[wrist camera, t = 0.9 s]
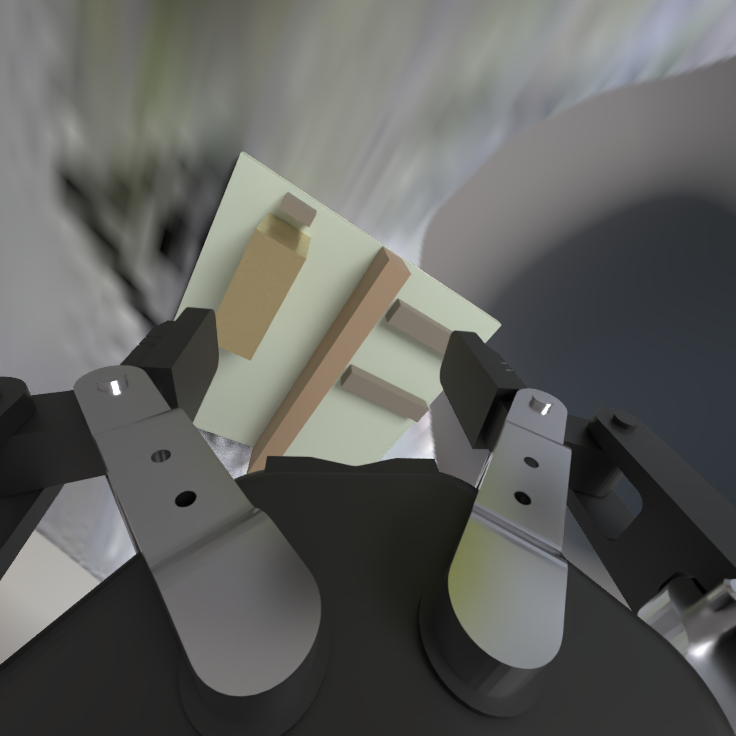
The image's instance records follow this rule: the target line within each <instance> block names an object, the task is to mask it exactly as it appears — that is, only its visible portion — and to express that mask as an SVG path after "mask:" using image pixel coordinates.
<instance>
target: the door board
mask: <svg viewBox="0 0 736 736" xmlns="http://www.w3.org/2000/svg"><path fill="white" fill-rule="evenodd" d="M269 212H270V213H272V214H273V215H275V216H277V217H278V218H280V219H282V220H283V221H285V222H286V223H288V224H290V225H291V226H293V227H295V228H296V229H298V230H299V231H301V232H303V233H304V234H306V235H307V236H309V237H311V239H310V244H309V249H308V254H307V259H306V261H305V262H304V264H303V266H302V268H301V270H300V272H299V273H298V275H297V277H296V279H295V281H294V282H293V284H292V286H291V288H290V290H289V292H288V293H287V295H286V297H285V299H284V301H283V303H282V304H281V306H280V308H279V310H278V312H277V313H276V315H275V317H274V319H273V321H272V323H271V324H270V326H269V328H268V330H267V332H266V334H265V335H264V337H263V339H262V341H261V343H260V345H259V346H258V348H257V350H256V352H255V354H254V355H253V357H252V359H251V361H250V360H248V359H245V358H243V357H241V356H239V355H236V354H234V353H232V352H229V351H227V350H225V349H223V348H220V347H218V348H219V363H218V368H217V371H216V374H215V376H214V378H213V380H212V382H211V384H210V387H209V389H208V391H207V393H206V395H205V397H204V400H203V402H202V404H201V406H200V408H199V410H198V413H197V415H196V417H195V419H194V421H193V424H194V426H195V427H196V428H199V429H202V430H205V431H208V432H211V433H213V434H216V435H219V436H222V437H225V438H228V439H231V440H233V441H236V442H239V443H242V444H245V445H248V446H250V447H253V450H252V454H251V458H250V462H249V466H248V470H247V474H248V473H252V472H255V471H259V470H264V469H265V464H266V459H267V456H303V457H315V458H319V459H324V460H328V461H333V462H337V463H342V464H347V465H352V466H359V465H364V464H369V463H374V462H378V461H379V460H380V459H381V458H382V457H383V456H384V455H385V454H386V453H387V451H388V450H389V449H390V448H391V447H392V446H393V445H394V444H395V443H396V441H397V440H398V439H399V438H400V437H401V436H402V435H403V434H404V433H405V431H406V430H407V429H408V428H409V427H410V426H411V425H412V424H413V423H414V421H416V422H418V421H419V420H420V419H421V418H422V417H423V415H424V414H425V413H426V412H427V411H428V410H429V409H428V406H429V405H430V404H431V403H432V401H433V400H434V399H435V398H436V397H437V396H438V395H439V394H440V393H441V392H442V390H443V388H442V386H441V383H440V368H441V364H442V361H443V358H444V354H445V351H446V348H447V344H448V341H449V338H450V335H451V333H452V332H453V331H455V330H457V331H469V332H476V333H477V334H478V336H479V337H480V338H481V339H482V341H483V342H484V343H486V341H487V340H488V339H489V338H490V337H491V336H492V335H493V334H494V333H495V331H496V330H497V329H498V328H499V327H500V326H501V324H500V323H499V322H498V321H497V320H496V319H494V318H493V317H491V316H490V315H488V314H487V313H485V312H484V311H482V310H481V309H479V308H478V307H476V306H475V305H473V304H472V303H470V302H469V301H467V300H466V299H464V298H463V297H461V296H460V295H458V294H457V293H455V292H454V291H452V290H451V289H449V288H448V287H446V286H445V285H443V284H442V283H440V282H439V281H437V280H436V279H434V278H433V277H431V276H430V275H428V274H427V273H425V272H424V271H422V270H421V269H419V268H418V267H416V266H415V265H413V264H412V263H410V262H409V261H407V260H406V259H404V258H403V257H401V256H400V255H398V254H397V253H395V252H394V251H392V250H391V249H389V248H388V247H386V246H385V245H383V244H382V243H380V242H379V241H377V240H376V239H374V238H373V237H371V236H370V235H368V234H367V233H365V232H364V231H362V230H361V229H359V228H358V227H356V226H355V225H353V224H352V223H350V222H349V221H347V220H346V219H344V218H343V217H341V216H340V215H338V214H337V213H335V212H334V211H332V210H331V209H329V208H328V207H326V206H325V205H323V204H322V203H320V202H319V201H317V200H316V199H314V198H313V197H311V196H310V195H308V194H307V193H305V192H304V191H302V190H301V189H299V188H298V187H296V186H295V185H293V184H292V183H290V182H289V181H287V180H286V179H284V178H283V177H281V176H280V175H278V174H277V173H275V172H274V171H272V170H271V169H269V168H268V167H266V166H265V165H263V164H262V163H260V162H259V161H257V160H256V159H254V158H253V157H251V156H250V155H248V154H247V153H245V152H241V154H240V156H239V159H238V161H237V164H236V166H235V169H234V171H233V174H232V176H231V179H230V181H229V184H228V186H227V189H226V191H225V194H224V196H223V199H222V201H221V204H220V206H219V209H218V211H217V214H216V216H215V219H214V221H213V224H212V226H211V229H210V231H209V234H208V236H207V239H206V241H205V244H204V246H203V249H202V251H201V254H200V256H199V259H198V262H197V264H196V267H195V269H194V272H193V274H192V277H191V279H190V282H189V284H188V287H187V289H186V292H185V294H184V297H183V299H182V302H181V304H180V307H179V309H178V312H177V314H176V317H175V319H174V321H175V320H176V319H177V318H178V317H179V316H180V314H181V313H182V312H183V311H184V309H185V308H186V307H195V308H207V309H213V310H214V312H215V315H216V313H217V311H218V309H219V307H220V305H221V302H222V300H223V298H224V296H225V294H226V291H227V289H228V287H229V285H230V283H231V281H232V278H233V276H234V274H235V272H236V270H237V267H238V265H239V263H240V261H241V259H242V257H243V254H244V252H245V250H246V248H247V246H248V243H249V241H250V239H251V237H252V235H253V233H254V230H255V228H256V227H257V226H258V225H259V224H260V223H261V221H262V220H263V219H264V218H265V217H266V216H267V214H268V213H269Z"/></svg>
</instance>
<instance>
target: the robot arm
mask: <svg viewBox="0 0 736 736" xmlns="http://www.w3.org/2000/svg"><path fill="white" fill-rule="evenodd" d="M218 363H219V348H218V338H217V327H216V317H215V312H214V310H213V309H207V308H195V307H186V308H185V309H184V311H183V312H182V313H181V314H180V316H179V317H178V318H177V319H176V320H175V321H166V322H164V323H162V324H160V325H158V326H156V327H154V328H153V329H152V330H151V331H150V332H149V333H148V335H147V336H146V338H144V339H143V340H142V341H141V342H140V343H139V345H138V346H137V347H136V348H135V349H134V350H133V351H132V352H131V353H130V354H129V355H128V357H127V358H126V359H125V360H124V361H123V362H122V363H121V364H120V365H117V366H109V367H104V368H100V369H97V370H94V371H91V372H89V373H87V374H85V375H84V376H82V377H81V378H79V379H78V380H77V381H76V383H75V384H74V388H73V389H74V390H71V391H64V392H55V393H47V394H39V395H31V394H30V392H29V390H28V388H27V386H26V384H25V382H24V381H22V380H20V379H17V378H12V377H0V580H1V579H2V577H3V575H4V574H5V573H6V571H7V570H8V568H9V567H10V565H11V564H12V562H13V561H14V559H15V558H16V556H17V555H18V553H19V552H20V550H21V549H22V547H23V546H24V544H25V543H26V541H27V540H28V538H29V537H30V535H31V534H32V532H33V531H34V529H35V528H36V526H37V525H38V523H39V522H40V520H41V519H42V517H43V516H44V514H45V513H46V511H47V510H48V508H49V507H50V505H51V504H52V502H53V501H54V499H55V498H56V496H57V495H58V493H59V492H60V490H61V489H62V487H63V486H64V484H65V483H70V482H74V481H79V480H84V479H88V478H93V477H98V476H102V475H105V477H106V479H107V482H108V484H109V487H110V489H111V492H112V494H113V496H114V499H115V501H116V504H117V506H118V509H119V511H120V514H121V516H122V519H123V521H124V523H125V526H126V528H127V531H128V533H129V536H130V539H131V541H132V544H133V546H134V549H135V552H136V555H134V556H133V557H132V558H131V559H130V560H128V561H127V562H126V563H125V564H123V565H122V566H121V567H120V568H119V569H117V570H116V571H115V572H114V573H112V574H111V575H110V576H109V577H107V578H106V579H105V580H104V581H103V582H101V583H100V584H99V585H98V586H96V587H95V588H94V589H93V590H91V591H90V592H89V593H88V594H87V595H85V596H84V597H83V598H82V599H80V600H79V601H78V602H77V603H76V604H74V605H73V606H72V607H71V608H69V609H68V610H67V611H66V612H64V613H63V614H62V615H61V616H59V617H58V618H57V619H56V620H55V621H53V622H52V623H51V624H50V625H48V626H47V627H46V628H45V629H44V630H42V631H41V632H40V633H39V634H37V635H36V636H35V637H34V638H32V639H31V640H30V641H29V642H28V643H26V644H25V645H24V646H23V647H21V648H20V649H19V650H18V651H17V652H15V653H14V654H13V655H12V656H10V657H9V658H8V659H7V660H5V661H4V662H3V663H2V664H0V736H736V509H735V508H734V507H733V506H732V505H731V504H730V503H729V502H728V501H727V500H726V499H725V498H723V497H722V496H721V495H720V494H719V493H718V492H717V491H716V490H715V489H714V488H713V487H711V485H709V484H708V483H707V482H706V481H705V480H704V479H703V478H702V477H701V476H700V475H699V474H698V473H697V472H695V471H694V470H693V469H692V468H691V467H690V466H689V465H688V464H687V463H686V462H685V461H683V460H682V459H681V458H680V457H679V456H678V455H677V454H676V453H675V452H674V451H673V450H672V449H671V448H670V447H669V446H667V445H666V444H665V443H664V442H663V441H662V440H661V439H660V438H659V437H658V436H657V435H656V434H655V433H653V432H652V431H651V430H650V429H649V428H648V427H647V426H646V425H645V424H644V423H642V422H641V421H640V420H638V419H637V418H635V417H633V416H631V415H630V414H627V413H625V412H623V411H620V410H617V409H613V408H605V407H604V408H599V409H597V411H596V412H595V414H594V415H593V417H592V418H591V420H587V419H583V418H579V417H575V416H571V415H567V409H566V407H565V406H564V405H563V404H562V403H561V402H560V401H559V400H558V399H556V398H555V397H553V396H551V395H550V394H547V393H545V392H542V391H539V390H536V389H528V388H527V386H526V385H525V384H524V383H523V382H522V380H521V379H520V378H519V377H518V376H517V375H516V373H515V372H514V371H512V369H511V368H510V366H509V365H508V364H506V362H505V360H504V359H503V358H502V357H501V356H500V355H499V354H498V353H497V352H495V351H494V350H492V349H491V348H489V347H488V346H487V345H486V344H485V343H484V342H483V341H482V339H481V338H480V337H479V336H478V334H477V333H476V332H469V331H457V330H455V331H453V332H452V333H451V335H450V338H449V341H448V344H447V348H446V351H445V354H444V358H443V361H442V364H441V368H440V383H441V386H442V388H443V390H444V392H445V394H446V396H447V398H448V400H449V402H450V404H451V406H452V408H453V410H454V412H455V414H456V416H457V418H458V420H459V422H460V424H461V426H462V428H463V430H464V432H465V434H466V436H467V438H468V440H469V442H470V444H471V446H472V448H473V449H489V451H490V452H489V454H488V456H487V459H486V461H485V463H484V466H483V468H482V471H481V473H480V475H479V478H478V480H477V483H476V485H475V487H473V486H472V485H470V484H469V483H467V482H465V481H463V480H461V479H459V478H456V477H454V476H451V475H448V474H445V473H442V472H439V470H438V467H437V465H436V462H435V459H412V458H394V459H389V460H384V461H379V462H374V463H369V464H364V465H359V466H352V465H347V464H342V463H337V462H333V461H328V460H324V459H319V458H315V457H303V456H267V459H266V464H265V469H264V470H259V471H255V472H252V473H248V474H245V475H243V476H240V477H238V478H235V479H233V478H232V477H231V475H230V474H229V473H228V471H227V470H226V468H225V467H224V466H223V464H222V463H221V462H220V460H219V459H218V457H217V456H216V455H215V453H214V452H213V450H212V449H211V448H210V446H209V445H208V444H207V442H206V441H205V439H204V438H203V437H202V435H201V434H200V432H199V431H198V430H197V428H196V427H195V426H194V424H193V421H194V419H195V417H196V415H197V413H198V410H199V408H200V406H201V404H202V402H203V400H204V397H205V395H206V393H207V391H208V389H209V387H210V384H211V382H212V380H213V378H214V376H215V374H216V371H217V368H218ZM623 475H625V476H626V477H627V478H628V480H629V481H630V482H631V483H632V484H633V485H634V487H635V488H636V489H637V490H638V492H639V493H640V495H641V497H642V501H643V507H642V510H641V512H640V513H639V515H638V516H637V517H636V518H634V517H633V515H632V514H631V513H630V511H629V510H628V509H627V508H626V506H625V505H624V504H623V502H622V501H621V500H620V499H619V497H618V496H617V495H616V493H615V492H614V491H613V488H614V487H615V485H616V484H617V483H618V481H619V480H620V479H621V478H622V476H623ZM566 504H567V506H568V508H569V509H570V511H571V513H572V514H573V516H574V517H575V519H576V521H577V522H578V524H579V526H580V527H581V528H582V530H583V532H584V533H585V535H586V537H587V539H588V540H589V542H590V543H591V545H592V547H593V548H594V550H595V551H596V553H597V555H598V556H599V558H600V559H601V561H602V563H603V565H604V566H605V568H606V569H607V571H608V572H609V574H610V576H611V577H612V579H613V581H614V582H615V584H616V586H617V587H618V589H619V590H620V592H621V594H622V595H623V597H624V599H625V600H626V602H627V603H628V605H629V607H630V608H631V610H632V611H631V610H630V609H628V608H627V607H626V606H625V605H623V604H622V603H621V602H619V601H618V600H617V599H616V598H615V597H613V596H612V595H611V594H609V593H608V592H607V591H606V590H604V589H603V588H602V587H601V586H599V585H598V584H597V583H596V582H594V581H593V580H592V579H591V578H589V577H588V576H587V575H586V574H584V573H583V572H582V571H581V570H579V569H578V568H577V567H575V566H574V565H573V564H572V563H570V562H569V561H568V560H567V559H566V558H565V557H564V556H563V554H562V542H563V532H564V522H565V512H566Z"/></svg>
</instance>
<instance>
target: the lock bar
mask: <svg viewBox="0 0 736 736" xmlns="http://www.w3.org/2000/svg"><path fill="white" fill-rule="evenodd" d="M310 239H311V237H309V236H307V235H306V234H304V233H303V232H301V231H299V230H298V229H296V228H295V227H293V226H291V225H290V224H288V223H286V222H285V221H283V220H282V219H280V218H278V217H277V216H275V215H273V214H272V213H270V212H269V213H268V214H267V216H266V217H265V218H264V219H263V220H262V221H261V223H260V224H259V225H258V226H257V227H256V228H255V230H254V233H253V235H252V237H251V239H250V241H249V243H248V246H247V248H246V250H245V252H244V254H243V257H242V259H241V261H240V263H239V265H238V267H237V270H236V272H235V274H234V276H233V278H232V281H231V283H230V285H229V287H228V289H227V291H226V294H225V296H224V298H223V300H222V302H221V305H220V307H219V309H218V311H217V313H216V315H215V317H216V327H217V338H218V347H220V348H223V349H225V350H227V351H229V352H232V353H234V354H236V355H239V356H241V357H243V358H245V359H248V360H250V361H251V359H252V357H253V355H254V354H255V352H256V350H257V348H258V346H259V345H260V343H261V341H262V339H263V337H264V335H265V334H266V332H267V330H268V328H269V326H270V324H271V323H272V321H273V319H274V317H275V315H276V313H277V312H278V310H279V308H280V306H281V304H282V303H283V301H284V299H285V297H286V295H287V293H288V292H289V290H290V288H291V286H292V284H293V282H294V281H295V279H296V277H297V275H298V273H299V272H300V270H301V268H302V266H303V264H304V262H305V261H306V259H307V254H308V249H309V244H310Z"/></svg>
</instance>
